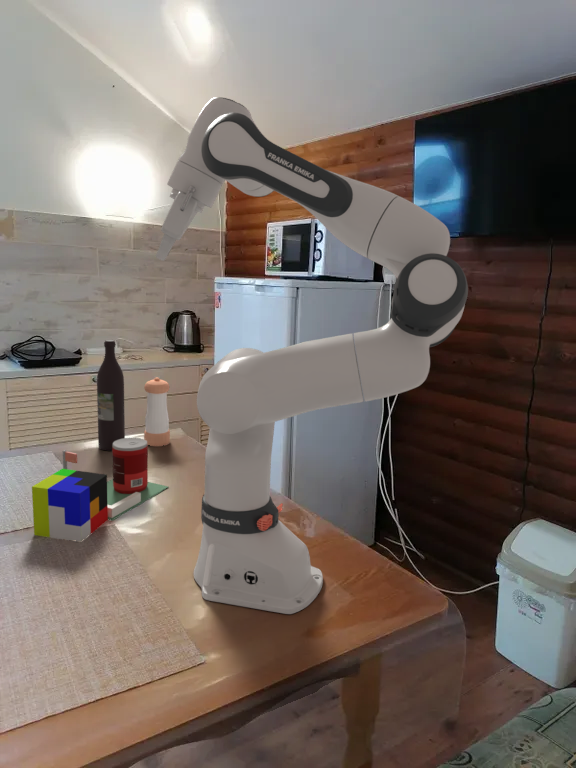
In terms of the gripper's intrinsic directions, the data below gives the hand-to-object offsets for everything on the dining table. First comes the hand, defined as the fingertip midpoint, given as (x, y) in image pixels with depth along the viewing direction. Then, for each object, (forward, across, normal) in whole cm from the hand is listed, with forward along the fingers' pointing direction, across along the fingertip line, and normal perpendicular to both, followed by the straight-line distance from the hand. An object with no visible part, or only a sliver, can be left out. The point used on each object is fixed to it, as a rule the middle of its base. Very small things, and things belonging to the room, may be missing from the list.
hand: (161, 257), depth 110 cm
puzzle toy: (+56, -4, -6) cm, 56 cm away
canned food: (+53, +15, -15) cm, 57 cm away
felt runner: (+54, +11, -13) cm, 56 cm away
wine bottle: (+58, +45, -8) cm, 74 cm away
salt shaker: (+53, +49, -20) cm, 75 cm away
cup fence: (+54, +8, -11) cm, 56 cm away
